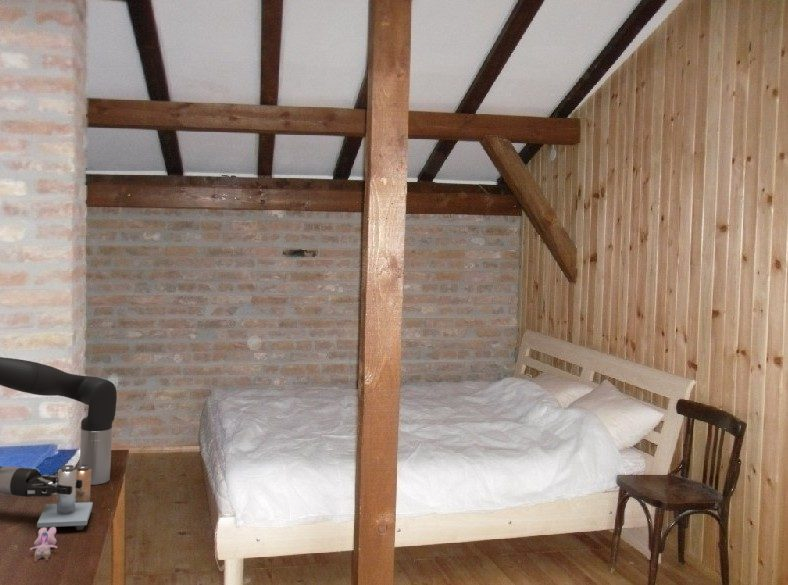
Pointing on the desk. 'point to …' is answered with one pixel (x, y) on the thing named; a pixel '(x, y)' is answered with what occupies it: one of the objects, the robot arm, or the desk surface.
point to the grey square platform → (65, 516)
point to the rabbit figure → (44, 543)
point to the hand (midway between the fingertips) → (76, 487)
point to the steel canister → (67, 478)
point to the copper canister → (83, 484)
